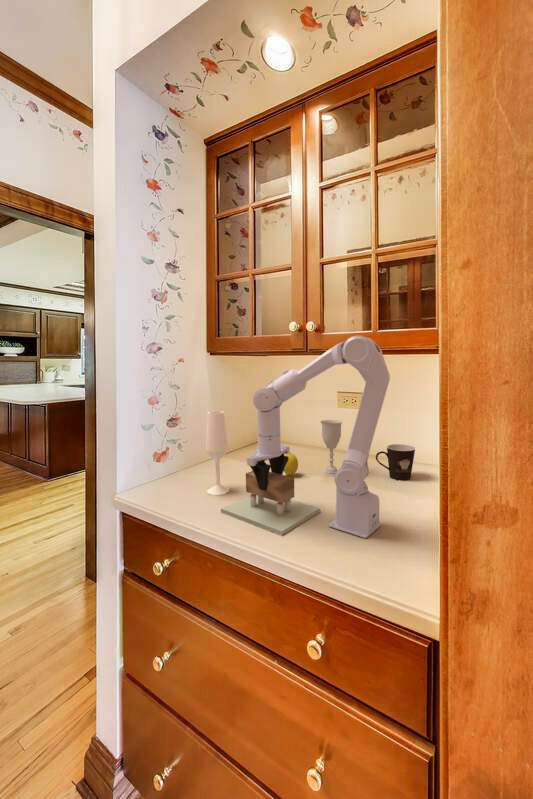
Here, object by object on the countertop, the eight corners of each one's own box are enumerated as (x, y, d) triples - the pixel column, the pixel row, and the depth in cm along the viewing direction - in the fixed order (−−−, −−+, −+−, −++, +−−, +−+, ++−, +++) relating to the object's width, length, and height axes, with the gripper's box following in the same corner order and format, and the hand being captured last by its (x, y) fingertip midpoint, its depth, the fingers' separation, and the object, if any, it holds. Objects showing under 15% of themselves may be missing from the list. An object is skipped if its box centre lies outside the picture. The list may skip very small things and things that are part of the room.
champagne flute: (220, 496, 106) (217, 414, 103) (202, 492, 110) (199, 413, 107) (234, 489, 112) (231, 411, 109) (216, 485, 115) (213, 409, 113)
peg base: (319, 511, 95) (319, 496, 94) (281, 535, 83) (281, 518, 82) (261, 493, 108) (261, 480, 107) (221, 512, 96) (220, 497, 95)
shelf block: (294, 496, 93) (294, 477, 92) (282, 503, 89) (281, 483, 88) (258, 486, 100) (258, 468, 100) (246, 491, 97) (245, 473, 96)
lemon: (288, 472, 127) (287, 449, 126) (301, 475, 124) (301, 452, 123) (278, 476, 123) (278, 453, 122) (291, 479, 119) (291, 455, 118)
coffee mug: (415, 475, 122) (415, 445, 121) (413, 483, 114) (414, 452, 113) (378, 470, 127) (379, 442, 125) (374, 478, 119) (375, 448, 118)
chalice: (341, 470, 127) (341, 419, 125) (343, 477, 121) (343, 423, 118) (319, 470, 128) (319, 419, 126) (320, 477, 121) (320, 423, 119)
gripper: (274, 427, 101) (275, 475, 102) (237, 437, 90) (238, 491, 91) (295, 430, 96) (296, 481, 98) (259, 441, 85) (260, 497, 87)
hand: (269, 486), depth 94 cm, fingers closed on shelf block, 5 cm apart
